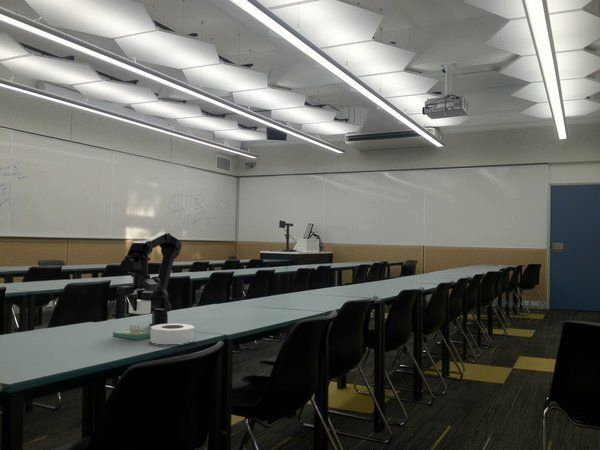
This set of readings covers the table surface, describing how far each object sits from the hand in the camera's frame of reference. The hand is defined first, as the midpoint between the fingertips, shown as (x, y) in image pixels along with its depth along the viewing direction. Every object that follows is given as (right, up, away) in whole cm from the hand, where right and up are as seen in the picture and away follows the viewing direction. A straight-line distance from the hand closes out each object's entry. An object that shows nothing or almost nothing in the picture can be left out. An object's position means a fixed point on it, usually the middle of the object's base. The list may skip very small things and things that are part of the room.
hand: (139, 310), depth 216 cm
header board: (+2, -8, -12) cm, 15 cm away
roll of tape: (+18, -9, -20) cm, 28 cm away
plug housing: (0, -1, 0) cm, 1 cm away
